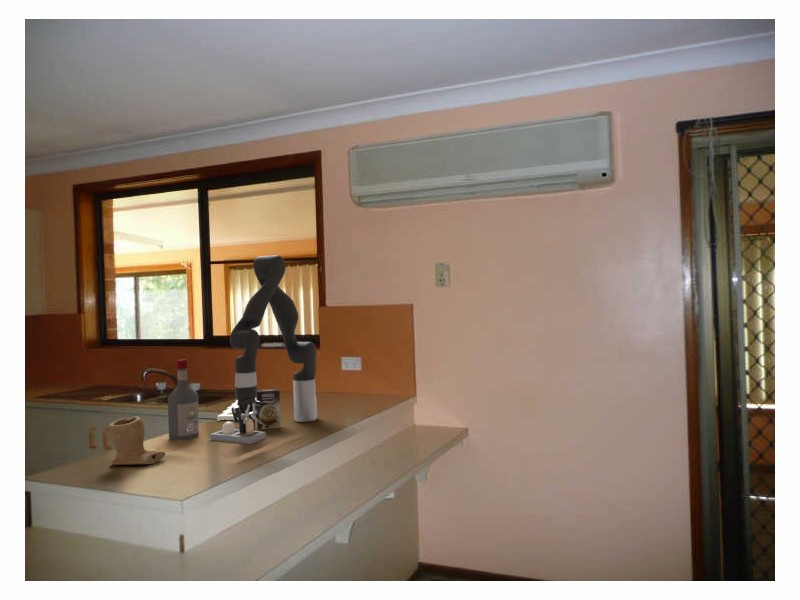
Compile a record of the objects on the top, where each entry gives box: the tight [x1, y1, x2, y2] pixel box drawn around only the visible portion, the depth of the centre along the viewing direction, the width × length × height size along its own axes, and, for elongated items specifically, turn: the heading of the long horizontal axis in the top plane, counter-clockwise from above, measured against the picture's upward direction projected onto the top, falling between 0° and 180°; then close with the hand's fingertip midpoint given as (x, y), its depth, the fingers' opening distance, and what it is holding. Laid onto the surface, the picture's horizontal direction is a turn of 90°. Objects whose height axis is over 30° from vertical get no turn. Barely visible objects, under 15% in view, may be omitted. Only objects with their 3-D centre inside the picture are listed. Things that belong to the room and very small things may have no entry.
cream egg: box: [221, 421, 236, 435], centre depth 208 cm, size 4×4×6 cm
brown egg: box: [241, 417, 254, 436], centre depth 205 cm, size 4×4×6 cm
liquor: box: [167, 359, 200, 441], centre depth 212 cm, size 9×9×30 cm
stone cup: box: [107, 415, 166, 466], centre depth 182 cm, size 15×12×15 cm
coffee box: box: [256, 388, 281, 431], centre depth 224 cm, size 9×6×16 cm
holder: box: [217, 398, 256, 422], centre depth 267 cm, size 45×18×3 cm, turn 170°
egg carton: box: [208, 428, 268, 445], centre depth 206 cm, size 10×19×4 cm, turn 66°
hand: (247, 432), depth 205 cm, fingers closed on brown egg, 4 cm apart
